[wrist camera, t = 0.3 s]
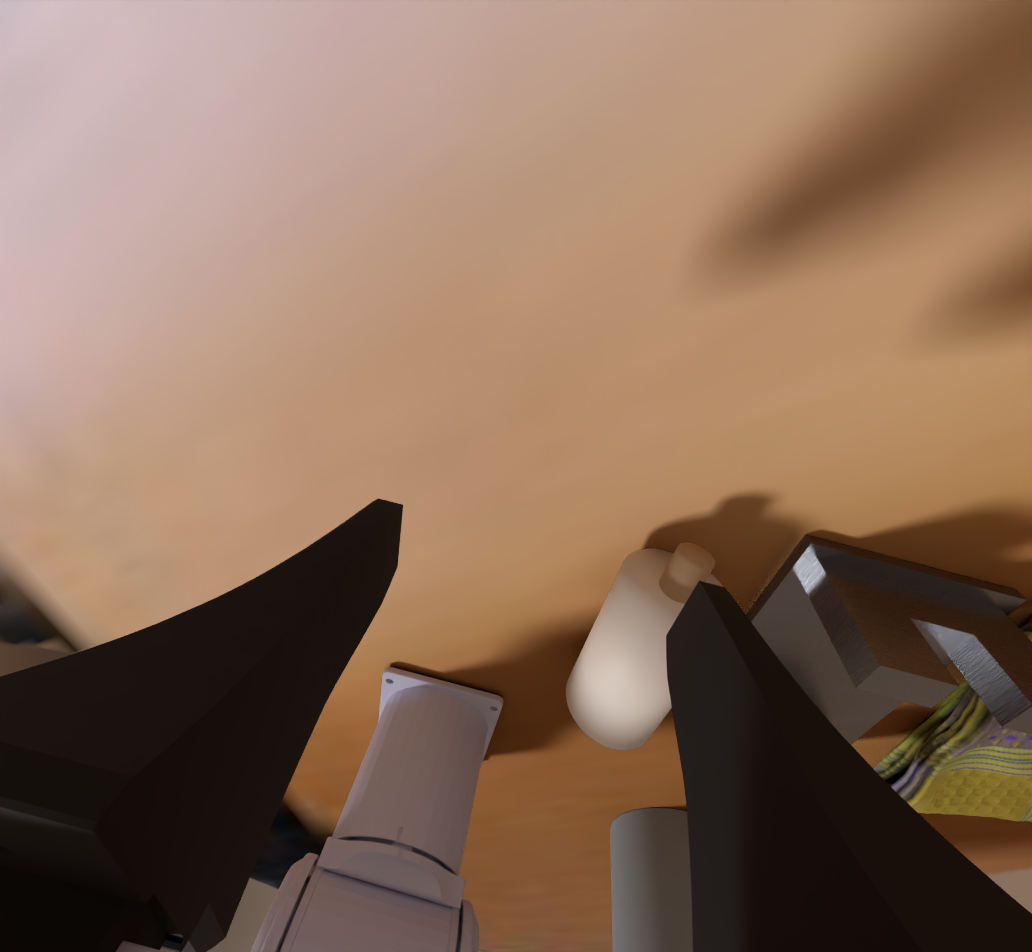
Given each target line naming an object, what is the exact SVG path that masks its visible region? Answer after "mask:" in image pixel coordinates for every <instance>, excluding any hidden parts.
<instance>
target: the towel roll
mask: <svg viewBox="0 0 1032 952" xmlns="http://www.w3.org/2000/svg"><path fill="white" fill-rule="evenodd" d="M714 567H715V560H714V558H713V556H712V555H711V554H710V553H709V552H708V551H707V550H706V549H704V548H703V547H701V546H699V545H697V544H694V543H689V542H684V543H681V544H679V545H678V547H677V548H676V550H675V552H674V553H671V552H667V551H663V550H660V549H655V548H647V549H641V550H637V551H635V552H633V553H631V554H630V555H628V556H627V557H626V559H625V560H624V562H623V564H622V566H621V568H620V570H619V572H618V574H617V577H616V579H615V581H614V583H613V585H612V587H611V589H610V591H609V593H608V596H607V598H606V600H605V602H604V604H603V606H602V608H601V610H600V612H599V615H598V617H597V619H596V621H595V623H594V625H593V627H592V629H591V632H590V634H589V636H588V638H587V640H586V642H585V644H584V646H583V648H582V651H581V653H580V655H579V657H578V659H577V661H576V663H575V665H574V667H573V670H572V672H571V674H570V676H569V678H568V681H567V685H566V700H567V705H568V708H569V711H570V713H571V715H572V717H573V719H574V720H575V722H576V723H577V725H578V726H579V727H580V728H581V730H582V731H583V732H584V733H585V734H586V735H588V736H589V737H590V738H591V739H593V740H594V741H596V742H597V743H599V744H601V745H603V746H605V747H608V748H611V749H615V750H632V749H635V748H638V747H640V746H642V745H643V744H644V743H646V742H647V741H648V739H649V738H650V737H651V736H652V734H653V733H654V731H655V730H656V729H657V727H658V726H659V725H660V723H661V722H662V720H663V719H664V718H665V716H666V715H667V714H668V712H669V711H670V709H671V708H672V706H671V699H670V693H669V686H668V679H667V662H666V635H667V633H668V632H669V630H670V628H671V627H672V625H673V623H674V622H675V620H676V618H677V617H678V615H679V613H680V612H681V610H682V608H683V607H684V605H685V603H686V602H687V600H688V598H689V596H690V595H691V593H692V591H693V590H694V588H695V586H696V585H697V583H698V581H703V582H706V583H710V584H714V585H718V586H722V584H721V583H720V582H719V581H718V580H717V579H716V578H715V577H714V576H713V575H712V574H711V572H712V570H713V568H714ZM722 587H723V586H722Z"/></svg>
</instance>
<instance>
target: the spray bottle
mask: <svg viewBox="0 0 1032 952" xmlns="http://www.w3.org/2000/svg"><path fill="white" fill-rule="evenodd" d="M610 845H611V889H612V933H613V952H693V934H692V894H691V872H690V849H689V835H688V820H687V811H682V810H677V809H671V808H645V809H638V810H633V811H630V812H627V813H624V814H621V815H620V816H619V817H617V818H616V819H615V820H614V821H613V822H612V825H611V828H610Z"/></svg>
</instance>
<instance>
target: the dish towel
mask: <svg viewBox="0 0 1032 952" xmlns="http://www.w3.org/2000/svg"><path fill="white" fill-rule="evenodd" d="M1020 630H1021V631H1022V632H1023V633H1024V634H1025V635H1026V636H1027V637H1028V638H1029V639H1030V640H1031V641H1032V617H1031V618H1030V619H1029V622H1028V623H1026V624H1025V625H1024V626H1022V627H1021V628H1020ZM873 769H874V770H875V771H876V772H877V773H878V774H879V775H880V776H881V777H882V778H883V779H884V780H885V781H886V782H887V783H888V784H889V785H890V786H891V787H892V788H893V789H894V790H895V791H896V792H897V793H898V794H899V795H900V796H901V797H902V798H903V799H904V800H905V801H906V802H907V803H908V804H909V805H910V806H911V807H912V808H913V809H914V810H915V811H916V812H917V813H926V814H930V813H932V814H933V813H940V814H948V815H949V814H959V815H968V816H981V817H996V818H999V819H1005V820H1012V821H1017V822H1018V821H1030V822H1032V735H1030V734H1027V733H1023V732H1019V731H1015V730H1011V729H1008V728H1004V727H1001V725H1000V724H999V723H998V721H997V720H996V719H995V717H994V716H993V715H992V713H991V712H990V711H989V709H988V708H987V707H986V705H985V704H984V703H983V701H982V700H981V699H980V697H979V696H978V695H977V693H976V692H975V691H974V689H973V688H972V687H971V685H970V684H969V683H968V681H967V680H965V681H964V682H963V683H962V684H961V685H960V687H958V688H957V689H956V690H955V691H954V692H953V693H952V694H951V695H950V696H949V697H948V698H947V699H946V700H945V701H944V702H943V703H942V704H941V705H940V706H939V707H938V709H937V710H936V711H935V712H934V713H933V714H932V715H931V716H930V717H929V718H928V719H927V720H926V721H925V722H924V723H923V724H921V725H920V726H918V727H917V728H916V729H915V730H913V731H912V732H911V733H910V735H909V736H908V737H907V738H906V739H905V740H904V741H903V742H902V743H901V744H900V745H898V746H897V747H895V748H894V749H893V750H892V751H891V752H890V753H889V754H888V755H887V756H886V757H885V758H883V759H882V760H881V761H880V762H879V763H878V764H877V765H876V766H875V767H874V768H873Z"/></svg>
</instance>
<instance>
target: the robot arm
mask: <svg viewBox="0 0 1032 952" xmlns="http://www.w3.org/2000/svg"><path fill="white" fill-rule="evenodd" d="M402 511H403V505H402V504H398V503H394V502H390V501H386V500H382V499H377V500H375V501H373V502H372V503H370V504H369V505H367V506H366V507H365V508H363V509H362V510H361V511H359V512H358V513H356V514H355V515H354V516H352V517H351V518H349V519H348V520H347V521H345V522H344V523H342V524H341V525H339V526H338V527H337V528H335V529H334V530H332V531H331V532H329V533H328V534H326V535H325V536H323V537H322V538H320V539H319V540H317V541H316V542H314V543H313V544H311V545H310V546H308V547H307V548H305V549H303V550H302V551H300V552H299V553H297V554H295V555H294V556H292V557H290V558H289V559H287V560H285V561H284V562H282V563H280V564H279V565H277V566H275V567H274V568H272V569H270V570H269V571H267V572H265V573H263V574H261V575H260V576H258V577H256V578H254V579H252V580H250V581H248V582H247V583H245V584H243V585H241V586H239V587H237V588H235V589H233V590H231V591H229V592H227V593H225V594H223V595H221V596H219V597H217V598H215V599H212V600H210V601H208V602H206V603H204V604H201V605H199V606H197V607H195V608H192V609H190V610H188V611H185V612H183V613H181V614H178V615H176V616H174V617H171V618H169V619H167V620H164V621H162V622H160V623H157V624H155V625H152V626H150V627H147V628H145V629H142V630H139V631H137V632H134V633H131V634H129V635H126V636H124V637H121V638H118V639H115V640H112V641H110V642H107V643H104V644H101V645H98V646H96V647H93V648H90V649H87V650H84V651H81V652H78V653H75V654H72V655H69V656H67V657H63V658H60V659H57V660H53V661H50V662H47V663H43V664H40V665H37V666H34V667H30V668H28V669H24V670H21V671H18V672H14V673H11V674H8V675H4V676H1V677H0V952H164V951H161V950H160V948H164V949H168V950H172V951H176V952H206V951H208V950H210V949H211V948H213V947H214V946H216V945H217V944H218V943H219V942H220V941H222V940H223V939H224V938H225V937H226V935H227V932H228V930H229V927H230V925H231V922H232V920H233V917H234V915H235V912H236V910H237V907H238V905H239V902H240V900H241V897H242V895H243V892H244V890H245V888H246V885H247V883H248V880H249V878H250V875H251V873H252V870H253V868H254V865H255V863H256V860H257V858H258V856H259V853H260V851H261V848H262V846H263V844H264V841H265V839H266V837H267V834H268V832H269V829H270V827H271V825H272V822H273V820H274V818H275V815H276V813H277V811H278V808H279V806H280V804H281V801H282V799H283V796H284V794H285V792H286V790H287V787H288V785H289V783H290V781H291V778H292V776H293V774H294V772H295V769H296V767H297V765H298V762H299V760H300V758H301V756H302V753H303V751H304V749H305V747H306V745H307V742H308V740H309V738H310V736H311V734H312V731H313V729H314V727H315V725H316V723H317V721H318V718H319V716H320V714H321V712H322V710H323V707H324V705H325V703H326V702H327V700H328V698H329V696H330V694H331V692H332V690H333V688H334V686H335V684H336V683H337V681H338V679H339V678H340V676H341V674H342V672H343V671H344V669H345V667H346V665H347V664H348V662H349V660H350V658H351V657H352V655H353V653H354V651H355V650H356V648H357V646H358V645H359V643H360V641H361V639H362V638H363V636H364V634H365V632H366V631H367V629H368V627H369V625H370V624H371V622H372V620H373V618H374V617H375V615H376V613H377V611H378V609H379V608H380V606H381V604H382V602H383V600H384V597H385V595H386V593H387V590H388V588H389V586H390V583H391V581H392V578H393V576H394V574H395V571H396V569H397V566H398V555H399V544H400V533H401V522H402ZM666 662H667V679H668V686H669V693H670V699H671V706H672V712H673V718H674V724H675V730H676V736H677V742H678V748H679V754H680V760H681V766H682V772H683V779H684V787H685V795H686V805H687V820H688V835H689V849H690V872H691V894H692V934H693V952H1032V914H1031V913H1030V912H1029V911H1028V910H1026V909H1025V908H1024V907H1023V906H1021V905H1020V904H1019V903H1018V902H1016V900H1014V899H1013V898H1012V897H1011V896H1010V895H1009V894H1007V893H1006V892H1005V891H1004V890H1003V889H1002V888H1000V887H999V886H998V885H997V884H996V883H995V882H994V881H992V880H991V879H990V878H989V877H988V876H987V875H986V874H984V873H983V872H982V871H981V870H980V869H979V868H978V867H976V866H975V865H974V864H973V863H972V862H971V861H969V860H968V859H967V858H966V857H965V856H964V855H963V854H962V853H960V852H959V851H958V850H957V849H956V848H955V847H954V846H953V845H952V844H951V843H949V842H948V841H947V840H946V839H945V838H944V837H943V836H942V835H941V834H940V833H939V832H937V831H936V830H935V829H934V828H933V827H932V826H931V825H930V824H929V823H928V822H927V821H926V820H925V819H924V818H923V817H922V816H921V815H920V814H918V813H917V812H916V811H915V810H914V809H913V808H912V807H911V806H910V805H909V804H908V803H907V802H906V801H905V800H904V799H903V798H902V797H901V796H900V795H899V794H898V793H897V792H896V791H895V790H894V789H893V788H892V787H891V786H890V785H889V784H888V783H887V782H886V781H885V780H884V779H883V778H882V777H881V776H880V775H879V774H878V773H877V772H876V771H875V770H874V769H873V768H872V767H871V766H870V765H869V764H868V763H867V762H866V761H865V760H864V758H863V757H862V756H861V755H860V754H859V753H858V752H857V751H856V750H855V749H854V748H853V747H852V746H851V745H850V744H849V742H848V741H847V740H846V739H845V738H844V737H843V736H842V735H841V734H840V733H839V732H838V730H837V729H836V728H835V727H834V726H833V725H832V724H831V723H830V721H829V720H828V719H827V718H826V717H825V715H824V714H823V713H822V712H821V711H820V710H819V708H818V707H817V706H816V705H815V704H814V702H813V701H812V700H811V699H810V698H809V696H808V695H807V694H806V693H805V692H804V690H803V689H802V688H801V687H800V685H799V684H798V683H797V682H796V680H795V679H794V678H793V677H792V675H791V674H790V673H789V672H788V670H787V669H786V668H785V666H784V665H783V664H782V663H781V661H780V660H779V659H778V657H777V656H776V655H775V653H774V652H773V651H772V649H771V648H770V647H769V646H768V644H767V643H766V642H765V640H764V639H763V637H762V636H761V635H760V633H759V632H758V631H757V629H756V628H755V627H754V625H753V624H752V623H751V621H750V620H749V619H748V617H747V616H746V615H745V613H744V612H743V611H742V609H741V608H740V606H739V605H738V604H737V603H736V601H735V600H734V599H733V597H732V596H731V595H730V593H729V592H728V591H727V590H726V589H725V587H722V586H718V585H714V584H710V583H706V582H703V581H698V583H697V585H696V586H695V588H694V590H693V591H692V593H691V595H690V596H689V598H688V600H687V602H686V603H685V605H684V607H683V608H682V610H681V612H680V613H679V615H678V617H677V618H676V620H675V622H674V623H673V625H672V627H671V628H670V630H669V632H668V633H667V635H666ZM502 706H503V698H502V697H500V696H498V695H495V694H491V693H488V692H484V691H480V690H476V689H472V688H469V687H465V686H461V685H457V684H454V683H450V682H446V681H442V680H438V679H435V678H431V677H427V676H423V675H420V674H416V673H412V672H408V671H404V670H401V669H397V668H393V667H387V668H385V670H384V673H383V677H382V688H381V699H380V710H379V720H378V724H377V727H376V729H375V732H374V734H373V737H372V739H371V742H370V744H369V747H368V749H367V752H366V754H365V757H364V759H363V762H362V764H361V766H360V769H359V771H358V774H357V776H356V779H355V781H354V784H353V786H352V789H351V791H350V794H349V796H348V799H347V801H346V804H345V806H344V809H343V811H342V814H341V816H340V819H339V821H338V824H337V826H336V829H335V831H334V834H333V836H332V837H328V838H327V841H326V843H325V846H324V848H323V851H322V853H321V856H320V858H319V860H318V855H315V854H312V853H308V854H306V855H305V857H304V858H303V859H301V860H299V861H298V862H296V863H295V864H293V865H292V866H291V868H290V869H289V871H288V873H287V875H286V876H285V878H284V880H283V882H282V884H281V886H280V888H279V890H278V892H277V894H276V896H275V898H274V900H273V902H272V905H271V907H270V909H269V911H268V913H267V915H266V918H265V920H264V922H263V924H262V926H261V929H260V931H259V933H258V936H257V938H256V940H255V943H254V945H253V948H252V950H251V952H478V951H479V925H478V921H477V919H476V916H475V914H474V909H473V906H472V904H471V902H470V901H467V900H464V899H462V897H463V891H464V886H465V881H466V880H465V878H463V877H460V876H459V873H460V868H461V863H462V858H463V852H464V847H465V842H466V837H467V832H468V827H469V822H470V817H471V812H472V807H473V802H474V797H475V791H476V786H477V781H478V776H479V771H480V768H481V765H482V762H483V759H484V757H485V754H486V751H487V748H488V745H489V743H490V740H491V737H492V734H493V732H494V729H495V726H496V723H497V720H498V718H499V715H500V712H501V709H502ZM317 861H318V863H317Z"/></svg>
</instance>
